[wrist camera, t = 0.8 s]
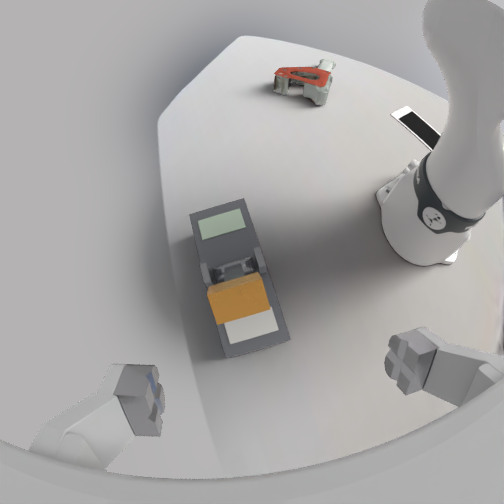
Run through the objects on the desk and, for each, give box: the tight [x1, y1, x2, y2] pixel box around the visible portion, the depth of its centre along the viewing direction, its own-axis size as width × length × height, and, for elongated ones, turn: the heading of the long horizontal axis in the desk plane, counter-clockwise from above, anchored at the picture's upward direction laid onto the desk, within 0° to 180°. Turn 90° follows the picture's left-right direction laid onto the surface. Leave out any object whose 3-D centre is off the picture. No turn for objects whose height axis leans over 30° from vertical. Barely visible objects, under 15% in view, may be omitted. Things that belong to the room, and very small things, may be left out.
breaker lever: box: [207, 256, 270, 325], centre depth 28 cm, size 3×5×14 cm, turn 106°
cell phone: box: [391, 106, 441, 151], centre depth 51 cm, size 8×16×1 cm, turn 36°
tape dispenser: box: [273, 59, 336, 105], centre depth 55 cm, size 18×5×20 cm
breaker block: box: [190, 198, 290, 358], centre depth 37 cm, size 20×8×9 cm, turn 17°
